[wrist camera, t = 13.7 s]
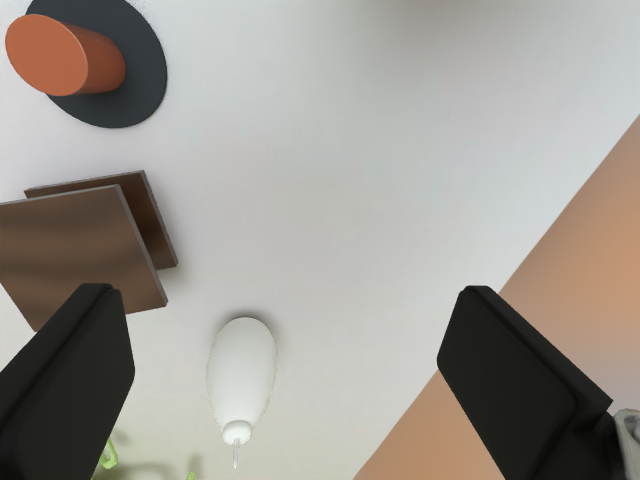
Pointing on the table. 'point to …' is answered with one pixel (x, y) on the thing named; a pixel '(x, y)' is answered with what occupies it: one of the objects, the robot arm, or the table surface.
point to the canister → (63, 57)
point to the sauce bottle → (240, 378)
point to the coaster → (137, 50)
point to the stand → (84, 244)
